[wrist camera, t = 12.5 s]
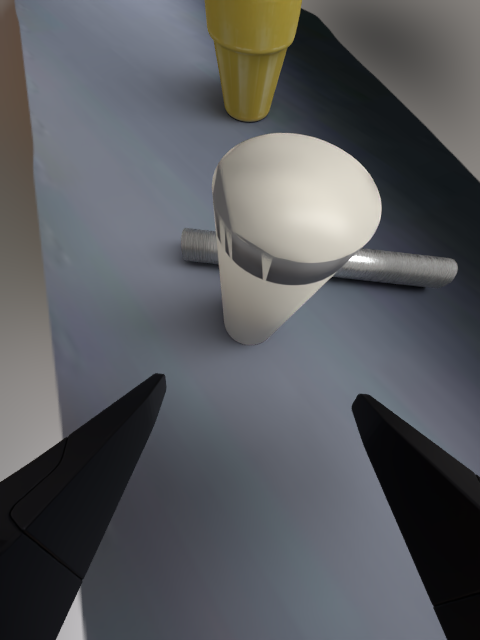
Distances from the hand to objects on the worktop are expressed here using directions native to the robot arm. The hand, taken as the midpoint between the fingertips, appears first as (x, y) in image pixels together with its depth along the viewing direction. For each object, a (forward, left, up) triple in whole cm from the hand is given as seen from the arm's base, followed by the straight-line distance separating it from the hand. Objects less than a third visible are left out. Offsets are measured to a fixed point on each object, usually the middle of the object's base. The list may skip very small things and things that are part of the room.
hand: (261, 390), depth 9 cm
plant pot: (+39, +3, -8) cm, 40 cm away
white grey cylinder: (+6, 0, -8) cm, 10 cm away
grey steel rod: (+12, -6, -8) cm, 16 cm away
